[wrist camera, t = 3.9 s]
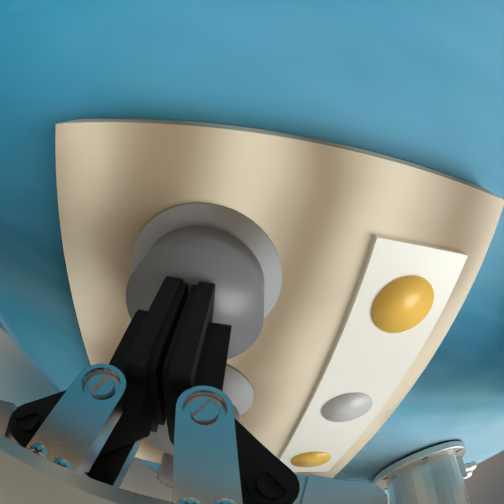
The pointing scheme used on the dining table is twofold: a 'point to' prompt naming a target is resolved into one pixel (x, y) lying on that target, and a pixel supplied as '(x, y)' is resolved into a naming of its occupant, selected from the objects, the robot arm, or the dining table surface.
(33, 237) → the dining table surface
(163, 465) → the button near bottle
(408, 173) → the button board
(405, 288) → the pattern card
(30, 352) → the dining table surface
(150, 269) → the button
